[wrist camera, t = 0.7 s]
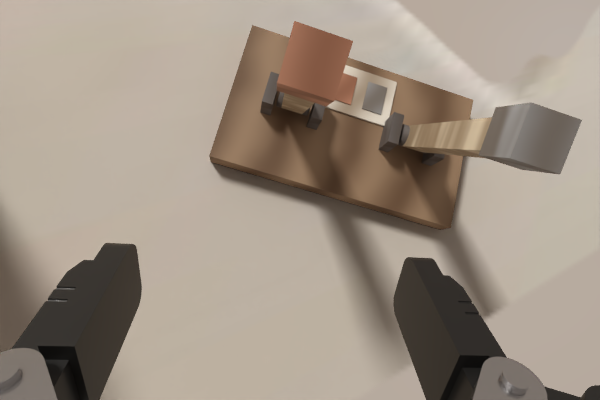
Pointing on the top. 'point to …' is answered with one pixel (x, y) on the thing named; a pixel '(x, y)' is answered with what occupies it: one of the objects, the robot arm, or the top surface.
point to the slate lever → (501, 137)
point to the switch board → (342, 136)
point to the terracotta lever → (311, 68)
